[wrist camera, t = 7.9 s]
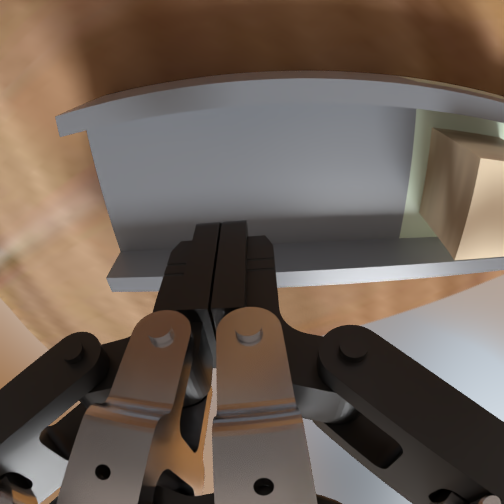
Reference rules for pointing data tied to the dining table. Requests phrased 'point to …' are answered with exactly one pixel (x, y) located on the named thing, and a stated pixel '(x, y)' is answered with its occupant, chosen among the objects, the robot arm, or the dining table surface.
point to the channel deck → (281, 170)
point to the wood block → (465, 193)
